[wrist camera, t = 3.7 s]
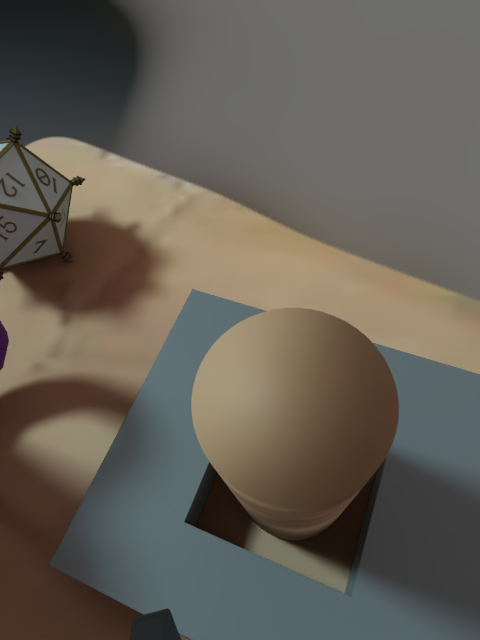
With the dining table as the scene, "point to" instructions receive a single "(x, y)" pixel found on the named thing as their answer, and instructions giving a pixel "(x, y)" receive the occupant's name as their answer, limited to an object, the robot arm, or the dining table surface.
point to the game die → (31, 206)
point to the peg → (294, 417)
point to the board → (257, 572)
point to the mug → (3, 344)
